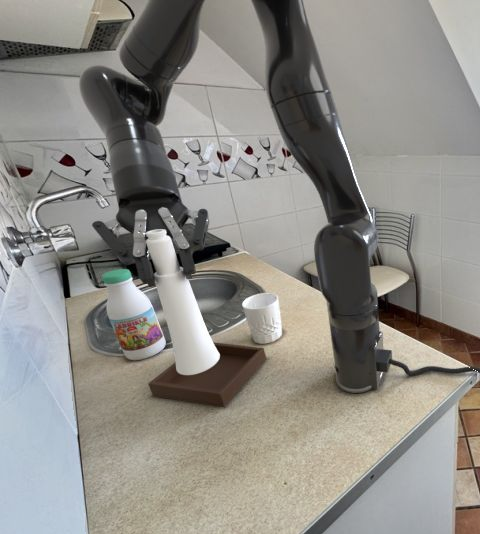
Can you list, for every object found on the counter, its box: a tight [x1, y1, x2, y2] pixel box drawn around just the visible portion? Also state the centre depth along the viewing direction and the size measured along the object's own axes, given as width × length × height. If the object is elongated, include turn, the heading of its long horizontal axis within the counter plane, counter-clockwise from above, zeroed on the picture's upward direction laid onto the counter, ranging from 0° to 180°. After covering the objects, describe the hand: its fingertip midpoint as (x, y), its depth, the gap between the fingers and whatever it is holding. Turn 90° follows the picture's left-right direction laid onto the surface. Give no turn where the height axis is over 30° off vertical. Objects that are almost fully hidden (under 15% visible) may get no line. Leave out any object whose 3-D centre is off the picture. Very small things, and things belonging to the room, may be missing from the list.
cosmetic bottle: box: [146, 229, 220, 375], centre depth 47 cm, size 6×6×22 cm
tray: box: [147, 341, 267, 408], centre depth 66 cm, size 16×14×3 cm
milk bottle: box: [101, 268, 167, 361], centre depth 71 cm, size 8×8×20 cm
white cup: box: [241, 292, 283, 345], centre depth 78 cm, size 8×8×10 cm
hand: (170, 280), depth 44 cm, fingers closed on cosmetic bottle, 3 cm apart
